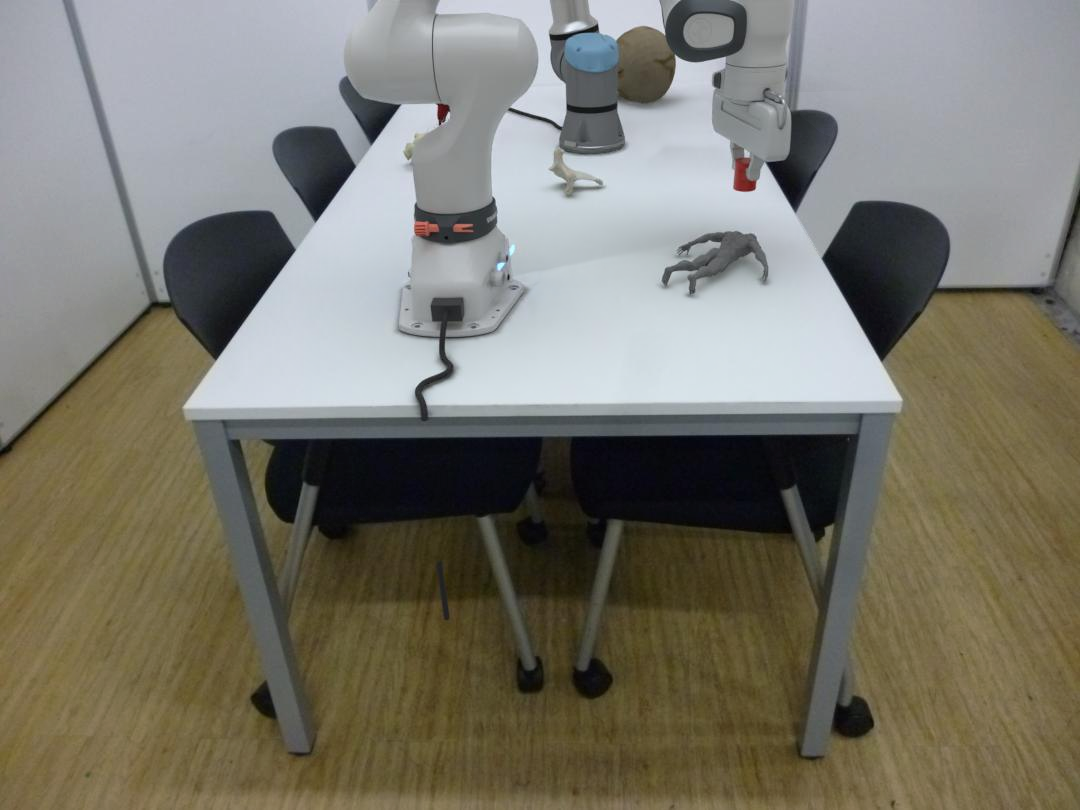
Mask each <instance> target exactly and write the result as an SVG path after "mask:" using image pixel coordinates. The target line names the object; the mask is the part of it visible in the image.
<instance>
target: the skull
mask: <svg viewBox="0 0 1080 810" xmlns="http://www.w3.org/2000/svg"><path fill="white" fill-rule="evenodd" d="M615 40H616V42H617V45H618V53H619V59H618V95H619V96H621V97H622V98H624V99H625V100H627V101H631V102H635V103H640V104H650V103H654V102H657V101H658V100H660V99H661V98H662V97H664V96H665V95H666V94H667V92H668V91H669V90H670V88H671V86H672V84H673V81H674V78H675V75H676V68H677V60H676V55H675V54H674V53H673V52H672V51H671V49H670V48H669V46H668V43H667V41H666V36H665V33H663V32H662V31H660V30H659V29H656V28H654V27H652V26H647V25H640V26H636V27H633V28H630V29H629V30H626V31H624V33H622V34H621V35H620V36H619V37H618V38H617V39H615Z"/></svg>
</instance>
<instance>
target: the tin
mask: <svg viewBox="0 0 1080 810" xmlns="http://www.w3.org/2000/svg"><path fill="white" fill-rule="evenodd" d="M750 161H751V159H750V158H749V157H746V156H745V157H744V158H738V159H736V161H735V170H734V172H733V173H734V174H733V184H732V189H733V190H734V191H737V192H742V193H749V192H750V193H751V192H754V191H756V189H757V181H758V180H756V181H750V180H749V179H747V178H746V177H745V174H746V167H749V164H750Z"/></svg>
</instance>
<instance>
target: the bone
mask: <svg viewBox="0 0 1080 810" xmlns="http://www.w3.org/2000/svg"><path fill="white" fill-rule="evenodd" d="M564 153H565V151H564V150H563V149H561V148H560V147H555V148H554V150H553V153H552V154H553V163H552V165H551V166H550V167H548V168H547V169H548V171H550V172H552V173H553V174H554V175H555V176H556V177H558V178H560V179H562V180H564V181H565V182H566V188H565V190H564V193H565V195H566V196H570V195H572V193H573V192H574V190H573V187H574V184H575V183H576V182H577V181H581V180H583V181H591V182H595V183H596V184H598V185H599V186H603V185H604V181H603V180H602V179H600V178H597V177H595V176H593V175H591V174H589V173H586V172H583V171H580V170H579V171H578V170H574V169H572V168H570V167H568V166H567V165H566V164H565V162H564V158H563V156H564Z"/></svg>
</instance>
